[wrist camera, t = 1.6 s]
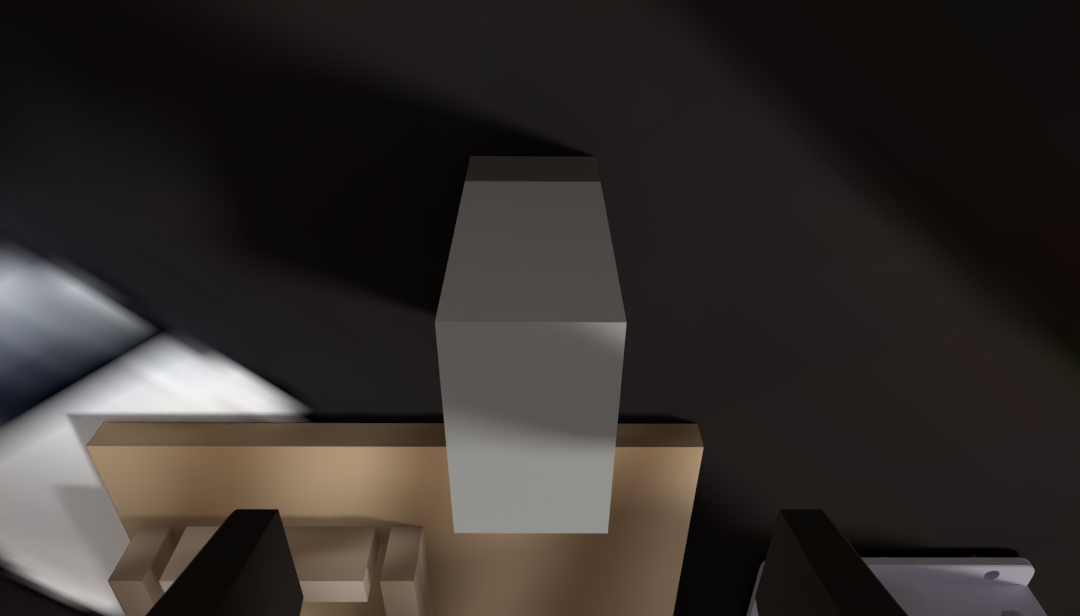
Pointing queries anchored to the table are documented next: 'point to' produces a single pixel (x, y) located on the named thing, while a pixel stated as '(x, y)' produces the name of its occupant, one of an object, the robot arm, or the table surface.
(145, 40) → the table surface
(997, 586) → the robot arm
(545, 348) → the peg
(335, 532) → the birch board
